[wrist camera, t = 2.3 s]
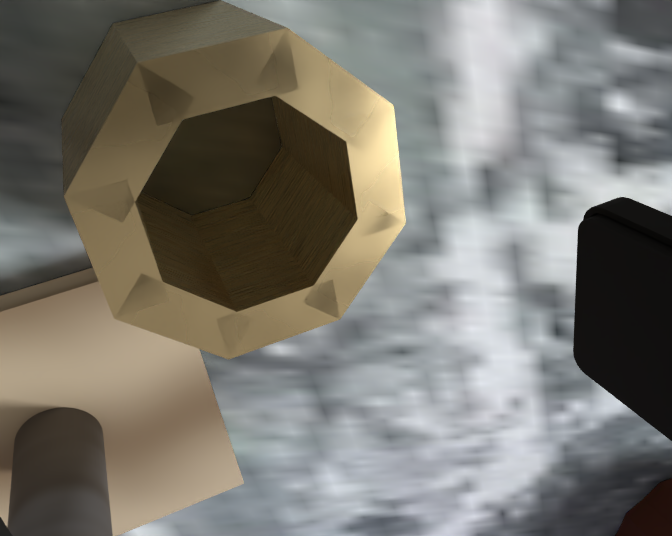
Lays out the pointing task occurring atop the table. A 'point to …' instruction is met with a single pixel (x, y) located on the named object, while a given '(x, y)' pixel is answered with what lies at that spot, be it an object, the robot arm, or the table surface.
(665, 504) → the muffin
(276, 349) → the table surface
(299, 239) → the brass ring
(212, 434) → the post stand
